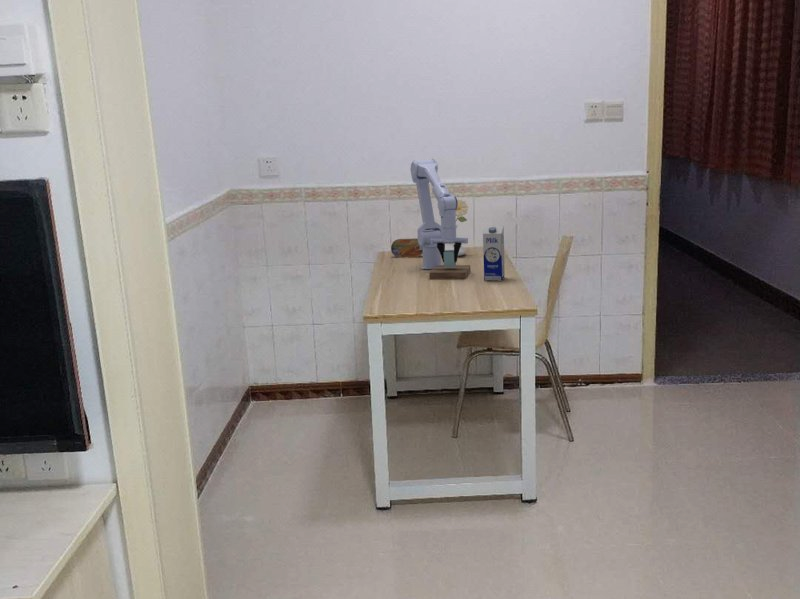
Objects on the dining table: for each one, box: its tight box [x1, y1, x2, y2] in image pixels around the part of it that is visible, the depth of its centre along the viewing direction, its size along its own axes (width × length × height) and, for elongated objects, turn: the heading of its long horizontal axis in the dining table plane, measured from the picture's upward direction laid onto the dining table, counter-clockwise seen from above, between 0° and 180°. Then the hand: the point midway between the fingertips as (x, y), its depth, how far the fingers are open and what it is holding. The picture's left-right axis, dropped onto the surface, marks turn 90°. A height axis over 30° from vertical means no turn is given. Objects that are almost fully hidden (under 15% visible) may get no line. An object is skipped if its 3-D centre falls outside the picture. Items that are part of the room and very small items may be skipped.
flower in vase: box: [445, 198, 469, 257], centre depth 347 cm, size 13×11×25 cm
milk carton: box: [482, 225, 506, 281], centre depth 298 cm, size 7×7×20 cm
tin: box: [390, 237, 423, 259], centre depth 353 cm, size 15×3×8 cm, turn 77°
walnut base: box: [428, 264, 471, 280], centre depth 311 cm, size 14×14×2 cm
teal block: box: [443, 250, 457, 267], centre depth 309 cm, size 4×4×6 cm
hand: (449, 261), depth 310 cm, fingers closed on teal block, 4 cm apart
